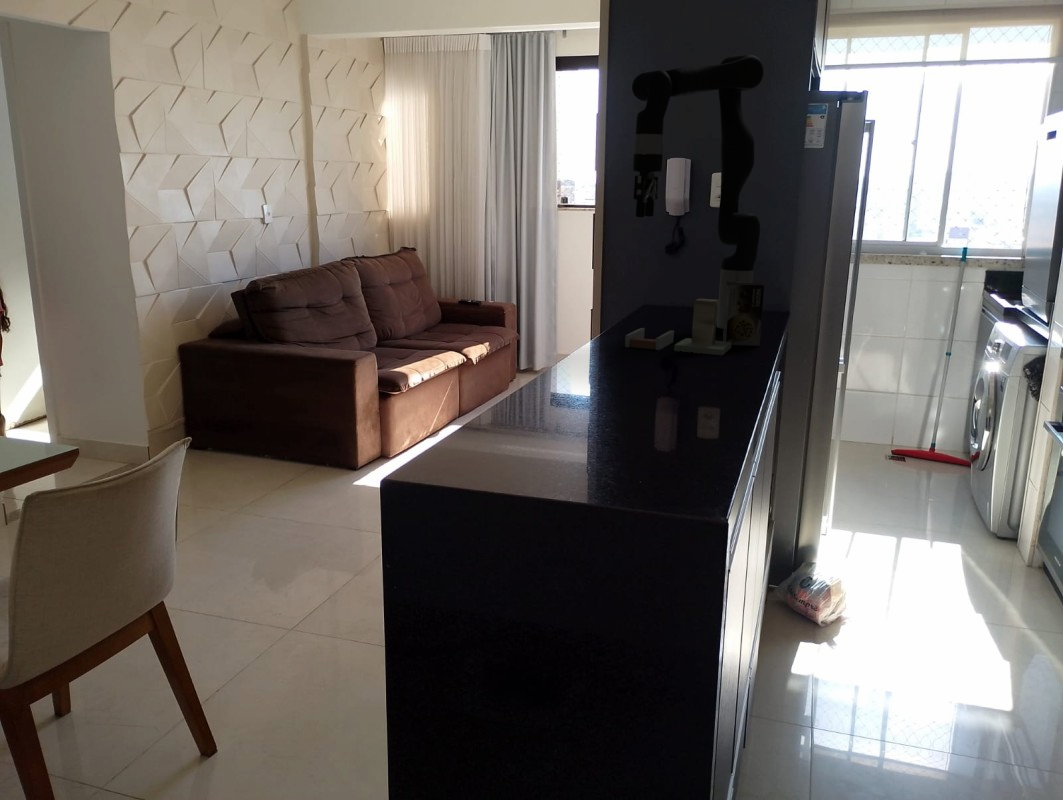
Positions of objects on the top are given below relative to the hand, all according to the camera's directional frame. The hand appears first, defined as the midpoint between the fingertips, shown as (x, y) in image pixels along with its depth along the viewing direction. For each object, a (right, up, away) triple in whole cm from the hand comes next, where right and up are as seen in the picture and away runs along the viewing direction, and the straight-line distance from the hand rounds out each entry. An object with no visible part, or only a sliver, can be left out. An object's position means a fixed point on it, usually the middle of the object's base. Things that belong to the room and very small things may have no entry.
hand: (644, 216), depth 228 cm
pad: (+14, -36, -9) cm, 39 cm away
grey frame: (+1, -34, -4) cm, 34 cm away
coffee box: (+26, -34, +1) cm, 42 cm away
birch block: (+14, -34, -9) cm, 38 cm away
